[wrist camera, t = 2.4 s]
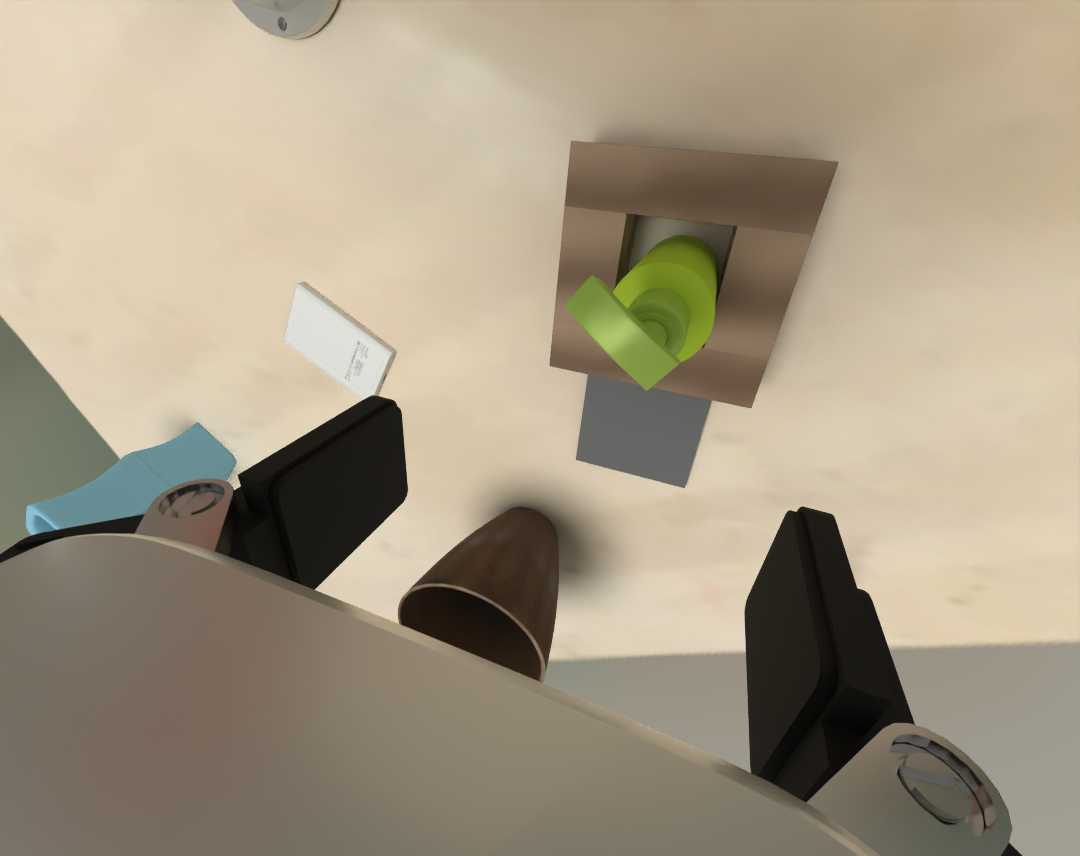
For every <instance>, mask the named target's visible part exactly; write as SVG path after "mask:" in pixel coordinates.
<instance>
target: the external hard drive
mask: <svg viewBox="0 0 1080 856" xmlns="http://www.w3.org/2000/svg"><path fill="white" fill-rule="evenodd" d="M284 342H285V343H286V344H288V345H289V346H291V347H292V348H293V349H295V350H296V351H297V352H299V353H300V354H301V355H303V356H304V357H305V358H307V359H308V360H309V361H311V362H312V363H314V364H315V365H316V366H318V367H319V368H320V369H322V370H323V371H324V372H326V373H327V374H328V375H330V376H331V377H333V378H334V379H335V380H337V381H338V382H339V383H341V384H342V385H343V386H345V387H346V388H347V389H349V390H350V391H351V392H353V393H354V394H356V395H357V396H358V397H360V398H361V399H362V400H364V399H366V398H367V397H369V396H372V395H375V396H378V393H379V391H380V389H381V386H382V384H383V382H382V381H383V379H384V376H385V375H386V374H387V372H388V370H389V367H390V365H391V363H392V360H393V358H394V356H395V353H396V350H394V349H393V348H392V347H390V346H389V345H388V344H386V343H385V342H384V341H382V340H381V339H380V338H378V337H377V336H376V335H374V334H373V333H372V332H370V331H369V330H368V329H366V328H365V327H364V326H362V325H361V324H360V323H358V322H357V321H356V320H354V319H353V318H352V317H350V316H349V315H348V314H346V313H345V312H344V311H342V310H341V309H340V308H338V307H337V306H336V305H334V304H333V303H332V302H330V301H329V300H328V299H326V298H325V297H324V296H322V295H321V294H320V293H318V292H317V291H316V290H314V289H313V288H311V287H310V286H309V285H307V284H306V283H305V282H302V283H299V284H298V285H297V287H296V290H295V294H294V298H293V302H292V307H291V311H290V316H289V319H288V324H287V328H286V333H285V337H284Z"/></svg>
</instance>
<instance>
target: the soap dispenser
mask: <svg viewBox="0 0 1080 856" xmlns="http://www.w3.org/2000/svg"><path fill="white" fill-rule="evenodd" d="M716 287H717V263H716V260H715V257H714V255H713V253H712V252H711V250H710V249H709V248H708V247H707V246H706V245H705V244H704V243H703V242H701V241H699V240H698V239H695V238H692V237H688V236H676V237H672V238H668V239H666V240H664V241H662V242H660V243H659V244H657V245H656V246H655V247H654V248H653V249H652V250H651V251H650V252H649V253H648V254H647V255H646V256H645V257H644V258H643V259H642V260H641V261H640V262H639V263H638V264H637V265H636V266H635V267H634V268H633V269H632V270H631V271H630V272H629V273H628V274H627V275H626V276H625V277H624V278H623V279H622V280H621V281H620V282H619V283H618V285H617V286H616V288H615V289H614V291H613V293H612V291H611V290H610V289H609V288H608V287H607V286H606V285H605V283H604V282H603V281H602V280H601V279H599V278H598V277H596V276H594V275H591V276H590V277H589V278H588V279H587V280H586V281H585V282H584V283H583V285H582V286H581V287H580V288H579V289H578V290H577V291H576V292H575V294H574V295H573V296H572V297H571V298H570V299H569V300H568V301H567V303H566V304H565V307H566V308H567V309H568V311H569V312H570V313H571V314H572V316H573V317H574V318H575V319H576V321H577V322H578V323H579V324H580V325H581V326H582V328H583V329H584V330H585V331H586V332H587V333H588V334H589V336H590V337H591V338H592V339H593V340H594V341H595V342H596V343H597V344H598V345H599V346H600V347H601V348H602V349H603V350H604V351H605V352H606V353H607V354H608V355H609V356H610V357H611V358H612V359H613V360H614V361H615V362H616V363H617V364H618V365H619V366H620V367H621V368H622V369H623V370H625V371H626V372H627V373H628V374H629V375H630V376H631V377H632V378H633V379H634V380H635V381H636V382H637V383H639V384H640V385H641V386H642V387H643V388H644V389H645V390H646V391H647V390H649V389H650V388H651V387H652V386H653V385H655V384H656V383H657V382H658V381H660V380H661V379H662V378H663V377H664V376H666V375H667V374H668V373H669V372H670V371H672V370H673V369H674V368H675V367H676V366H678V365H679V363H680V362H683V361H685V360H687V359H688V358H690V357H691V356H693V355H694V354H695V353H696V352H698V351H699V350H700V349H701V347H702V346H703V345H704V344H705V342H706V341H707V339H708V337H709V335H710V333H711V331H712V328H713V324H714V318H715V304H716Z"/></svg>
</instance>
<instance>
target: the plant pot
mask: <svg viewBox="0 0 1080 856" xmlns="http://www.w3.org/2000/svg"><path fill="white" fill-rule="evenodd" d="M558 585H559V554H558V541H557V534H556V531H555V529H554V527H553V525H552V524H551V523H550V522H549V521H548V520H547V519H546V518H545V517H544V516H543V515H541V514H539V513H538V512H536V511H533V510H530V509H526V508H515V509H511V510H508V511H507V512H505V513H503V514H501V515H499V516H498V517H496V518H494V519H493V520H491V521H490V522H488V523H486V524H485V525H483V526H482V527H480V528H479V529H478V530H476V531H475V532H473V533H472V534H471V535H469V536H468V537H467V538H465V539H464V540H463V541H462V542H460V543H459V544H458V545H457V546H455V547H454V548H453V549H452V550H451V551H449V552H448V553H447V554H446V555H445V556H444V557H443V558H441V559H440V560H439V561H438V562H437V563H436V564H435V565H434V566H433V567H432V568H431V569H430V570H429V571H428V572H427V573H426V574H425V575H424V576H423V577H422V578H421V579H420V580H419V581H418V582H417V583H415V584H414V585H413V586H412V588H411V589H410V590H409V591H408V592H407V593H406V594H405V595H404V596H403V597H402V599H401V601H400V603H399V607H398V619H399V624H400V625H402V626H405V627H407V628H410V629H412V630H415V631H417V632H420V633H422V634H425V635H427V636H430V637H432V638H434V639H437V640H439V641H442V642H444V643H447V644H449V645H452V646H454V647H456V648H459V649H461V650H464V651H466V652H469V653H471V654H474V655H476V656H478V657H481V658H483V659H486V660H488V661H491V662H493V663H496V664H498V665H500V666H503V667H505V668H508V669H510V670H513V671H515V672H517V673H520V674H522V675H525V676H527V677H529V678H532V679H534V680H537V681H539V682H542V683H543V680H544V677H545V672H546V668H547V663H548V659H549V654H550V649H551V643H552V638H553V632H554V625H555V618H556V609H557V599H558Z"/></svg>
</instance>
